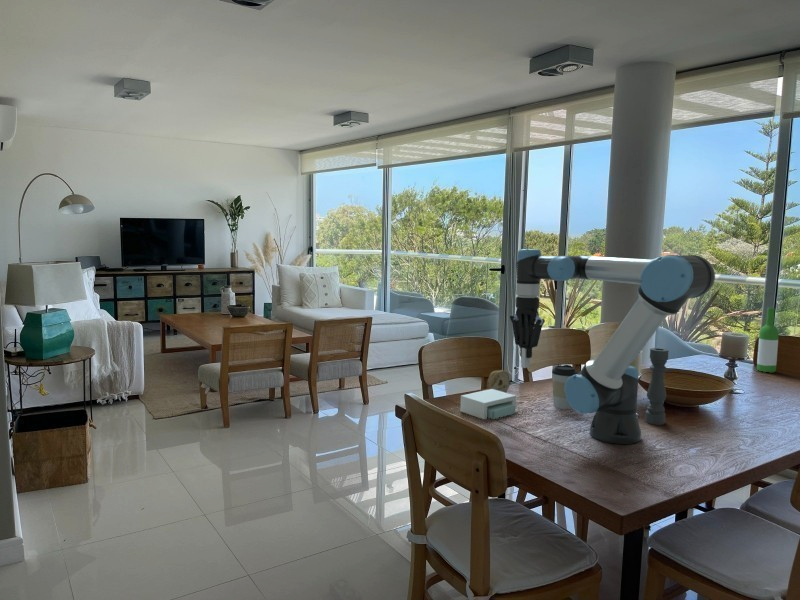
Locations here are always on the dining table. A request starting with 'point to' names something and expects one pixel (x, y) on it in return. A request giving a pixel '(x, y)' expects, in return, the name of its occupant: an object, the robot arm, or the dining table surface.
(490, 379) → the stone disc
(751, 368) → the dining table surface
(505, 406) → the mint green flat box
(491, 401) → the low shelf
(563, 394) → the coffee cup
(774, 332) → the wine bottle
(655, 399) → the candle holder
